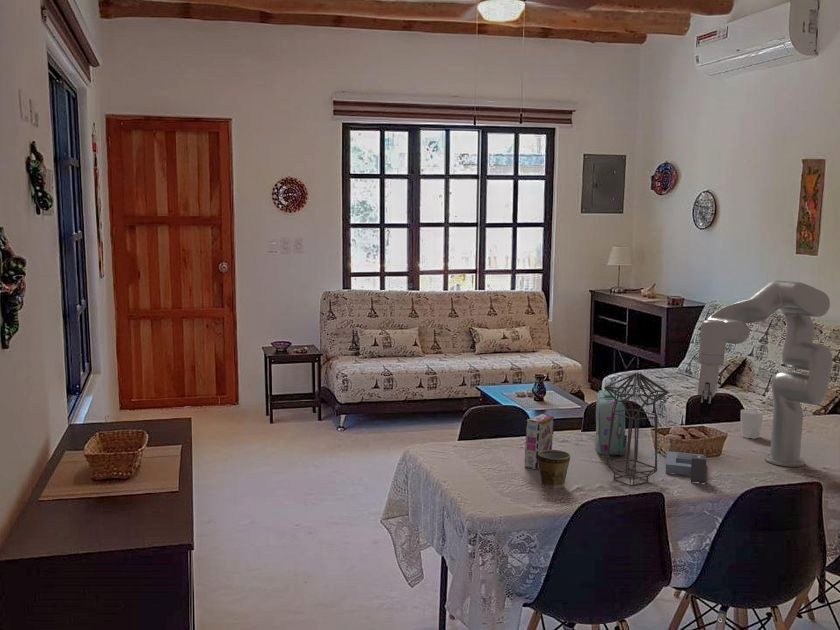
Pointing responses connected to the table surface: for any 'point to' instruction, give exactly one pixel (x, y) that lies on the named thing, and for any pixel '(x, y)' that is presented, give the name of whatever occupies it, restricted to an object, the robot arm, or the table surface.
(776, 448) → the robot arm
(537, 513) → the table surface
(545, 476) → the ceramic cup
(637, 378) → the geometric lantern
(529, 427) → the candy bar box
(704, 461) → the block
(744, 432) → the white cup
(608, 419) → the lunch box
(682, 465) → the outlet plate
